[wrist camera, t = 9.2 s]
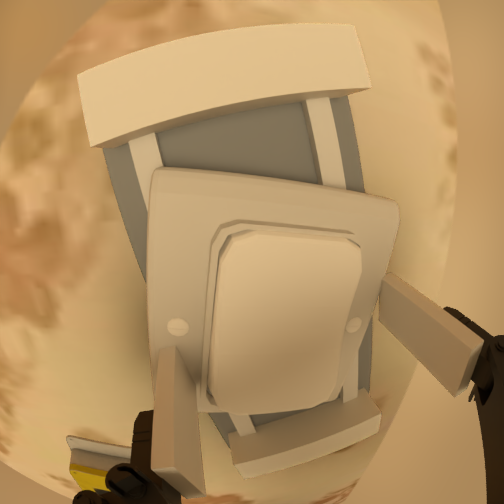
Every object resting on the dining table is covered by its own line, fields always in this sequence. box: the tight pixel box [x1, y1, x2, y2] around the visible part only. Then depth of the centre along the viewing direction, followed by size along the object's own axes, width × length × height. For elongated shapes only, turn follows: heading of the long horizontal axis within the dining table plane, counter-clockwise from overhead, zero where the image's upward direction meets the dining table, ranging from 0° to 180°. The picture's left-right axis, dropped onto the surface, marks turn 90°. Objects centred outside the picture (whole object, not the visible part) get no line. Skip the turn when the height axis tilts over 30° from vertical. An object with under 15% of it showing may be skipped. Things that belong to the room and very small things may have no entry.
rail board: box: [77, 23, 382, 479], centre depth 14 cm, size 27×12×4 cm, turn 13°
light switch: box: [146, 166, 400, 415], centre depth 12 cm, size 11×4×13 cm
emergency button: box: [66, 435, 132, 495], centre depth 19 cm, size 9×4×15 cm
